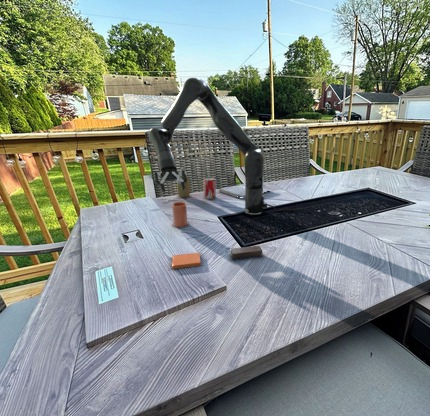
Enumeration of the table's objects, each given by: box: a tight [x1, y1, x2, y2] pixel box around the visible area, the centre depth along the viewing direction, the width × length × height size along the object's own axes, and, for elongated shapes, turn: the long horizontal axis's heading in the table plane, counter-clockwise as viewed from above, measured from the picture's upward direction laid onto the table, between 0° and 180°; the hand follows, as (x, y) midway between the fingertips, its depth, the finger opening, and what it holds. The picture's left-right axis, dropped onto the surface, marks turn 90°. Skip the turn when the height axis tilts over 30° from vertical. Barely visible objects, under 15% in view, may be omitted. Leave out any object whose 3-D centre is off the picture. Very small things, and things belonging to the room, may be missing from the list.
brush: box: [230, 245, 263, 261], centre depth 96 cm, size 11×4×3 cm, turn 108°
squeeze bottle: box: [176, 166, 192, 198], centre depth 158 cm, size 8×8×18 cm
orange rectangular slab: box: [172, 252, 202, 270], centre depth 91 cm, size 9×7×1 cm
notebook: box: [219, 183, 245, 200], centre depth 177 cm, size 22×2×28 cm
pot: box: [171, 201, 188, 228], centre depth 119 cm, size 6×6×10 cm
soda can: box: [203, 177, 217, 200], centre depth 159 cm, size 7×7×12 cm
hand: (174, 190), depth 123 cm, fingers open, 8 cm apart
